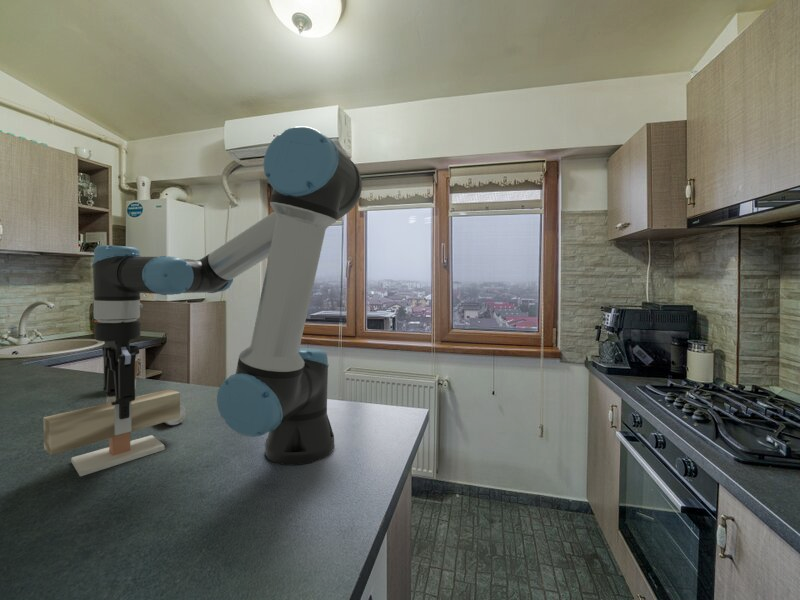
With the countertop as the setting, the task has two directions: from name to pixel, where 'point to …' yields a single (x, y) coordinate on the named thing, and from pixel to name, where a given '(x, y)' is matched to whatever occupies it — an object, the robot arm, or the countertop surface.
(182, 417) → the soda can
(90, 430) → the beech bar
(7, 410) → the countertop surface
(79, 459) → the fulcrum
